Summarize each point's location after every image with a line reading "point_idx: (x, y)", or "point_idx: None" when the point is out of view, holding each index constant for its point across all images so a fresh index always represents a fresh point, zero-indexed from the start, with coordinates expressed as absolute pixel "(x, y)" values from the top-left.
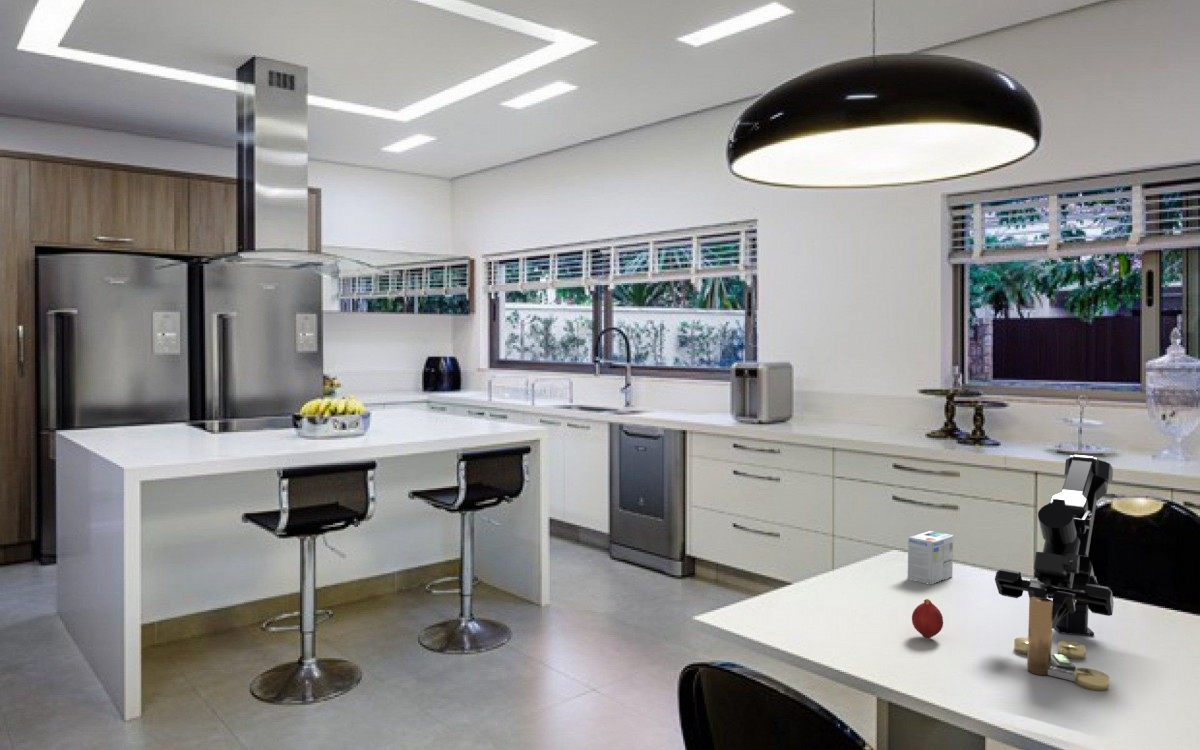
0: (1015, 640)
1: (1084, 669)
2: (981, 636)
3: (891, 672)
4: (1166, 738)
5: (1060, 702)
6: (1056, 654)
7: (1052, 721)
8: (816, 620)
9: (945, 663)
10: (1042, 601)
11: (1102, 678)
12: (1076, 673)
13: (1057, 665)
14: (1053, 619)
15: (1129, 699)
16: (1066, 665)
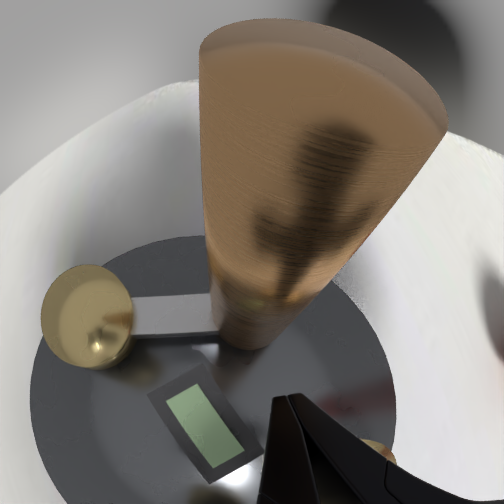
0: (391, 457)
1: (104, 342)
2: (460, 488)
3: (433, 155)
4: (5, 195)
5: (160, 208)
6: (233, 454)
7: (163, 128)
8: None
9: (433, 249)
10: (298, 38)
11: (54, 296)
12: (121, 282)
13: (201, 364)
14: (263, 466)
15: (30, 342)
16: (175, 385)
